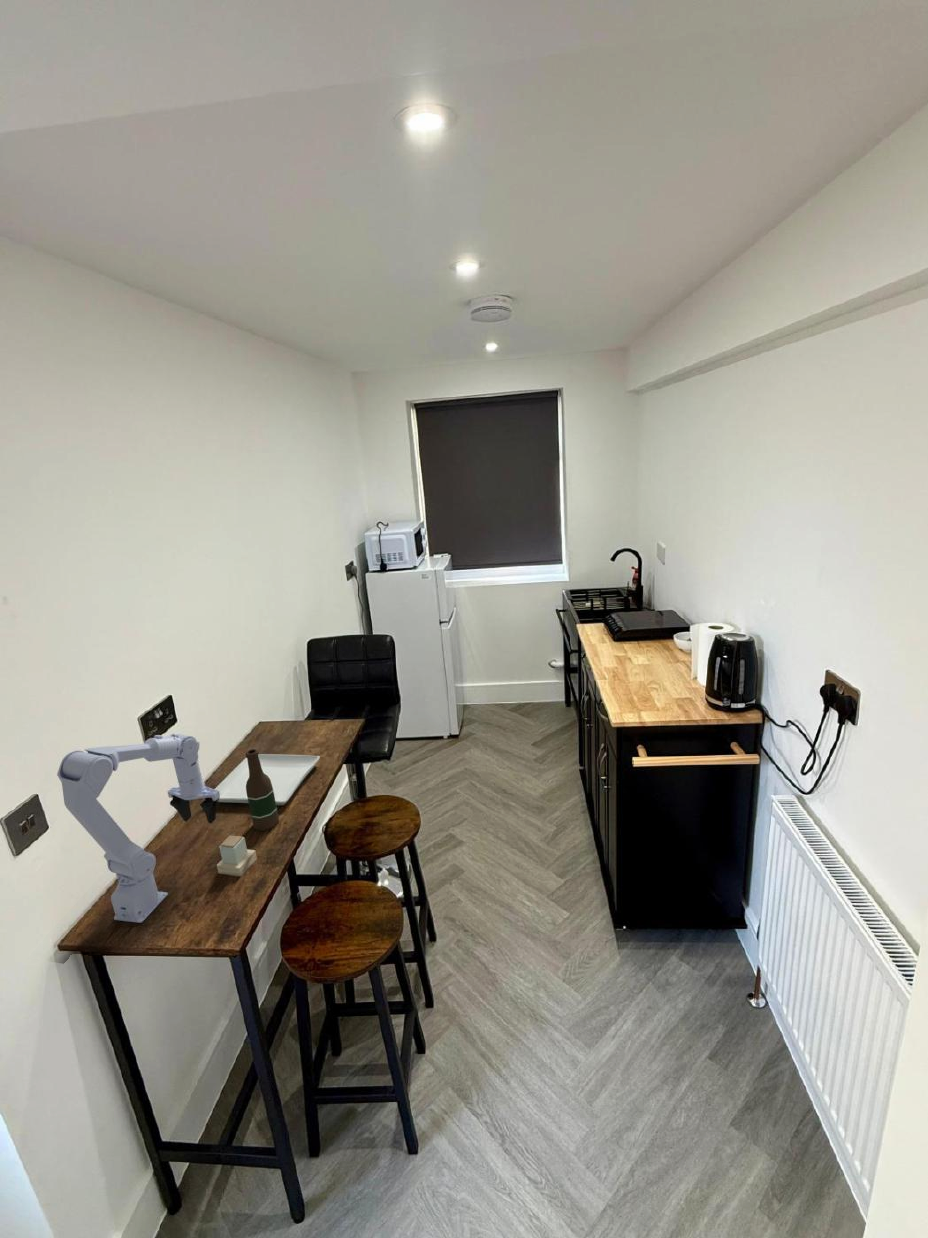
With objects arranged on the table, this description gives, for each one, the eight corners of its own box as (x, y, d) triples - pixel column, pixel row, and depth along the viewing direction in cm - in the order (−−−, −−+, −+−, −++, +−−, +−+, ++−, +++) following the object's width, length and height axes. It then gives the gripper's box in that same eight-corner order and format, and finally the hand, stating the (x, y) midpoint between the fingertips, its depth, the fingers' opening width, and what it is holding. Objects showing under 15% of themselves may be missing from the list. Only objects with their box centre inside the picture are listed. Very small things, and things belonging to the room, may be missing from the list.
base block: (241, 878, 153) (239, 868, 152) (218, 874, 155) (216, 865, 154) (257, 859, 159) (255, 850, 158) (235, 856, 161) (233, 847, 160)
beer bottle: (282, 814, 178) (269, 743, 171) (276, 830, 170) (261, 757, 163) (257, 816, 178) (242, 745, 171) (249, 832, 170) (233, 759, 163)
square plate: (207, 808, 185) (204, 797, 184) (251, 762, 210) (249, 752, 209) (286, 811, 180) (284, 800, 179) (322, 764, 205) (320, 754, 204)
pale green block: (237, 864, 153) (233, 847, 152) (222, 863, 155) (218, 845, 153) (247, 853, 158) (243, 835, 156) (233, 851, 159) (229, 834, 157)
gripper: (222, 769, 158) (232, 813, 162) (175, 767, 162) (186, 809, 166) (206, 784, 152) (216, 829, 156) (158, 781, 155) (169, 825, 159)
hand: (200, 820), depth 160 cm, fingers open, 7 cm apart
